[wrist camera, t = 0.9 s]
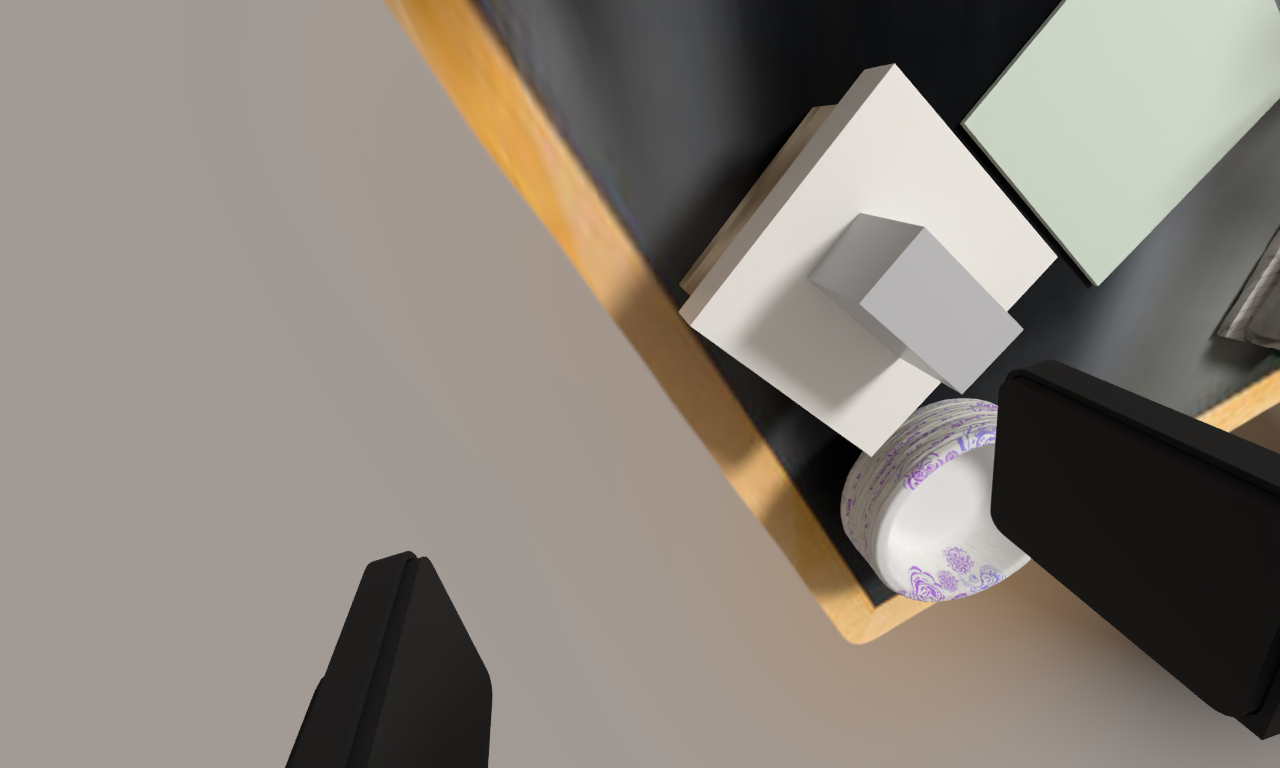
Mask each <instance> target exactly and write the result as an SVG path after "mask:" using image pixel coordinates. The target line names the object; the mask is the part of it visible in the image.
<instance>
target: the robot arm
mask: <svg viewBox="0 0 1280 768" xmlns="http://www.w3.org/2000/svg"><path fill="white" fill-rule="evenodd" d="M990 514H991V518H992V521H993V523H994V525H995V526H996V528H997V529H998V530H999V531H1000V532H1001V533H1002V534H1003V535H1004V536H1005V537H1006V538H1007V539H1009V540H1010V541H1011V542H1012V543H1014V544H1015V545H1016V546H1017V547H1018V548H1020V549H1021V550H1022V551H1023V552H1024V553H1026V554H1027V555H1028V556H1029V557H1030V558H1032V559H1033V560H1034V561H1035V562H1036V563H1038V564H1039V565H1040V566H1041V567H1042V568H1044V569H1045V570H1046V571H1047V572H1048V573H1050V574H1051V575H1052V576H1054V577H1055V578H1056V579H1057V580H1058V581H1059V582H1061V583H1062V584H1063V585H1064V586H1065V587H1067V588H1068V589H1069V590H1070V591H1071V592H1073V593H1074V594H1075V595H1076V596H1077V597H1079V598H1080V599H1081V600H1082V601H1083V602H1085V603H1086V604H1087V605H1088V606H1089V607H1091V608H1092V609H1093V610H1094V611H1095V612H1097V613H1098V614H1099V615H1100V616H1101V617H1103V618H1104V619H1105V620H1106V621H1108V622H1109V623H1110V624H1111V625H1112V626H1114V627H1115V628H1116V629H1117V630H1118V631H1120V632H1121V633H1122V634H1123V635H1124V636H1126V637H1127V638H1128V639H1129V640H1130V641H1132V642H1133V643H1134V644H1135V645H1137V646H1138V647H1139V648H1140V649H1141V650H1142V651H1144V652H1145V653H1146V654H1147V655H1149V656H1150V657H1151V658H1152V659H1153V660H1155V661H1156V662H1157V663H1158V664H1160V665H1161V666H1162V667H1163V668H1164V669H1165V670H1167V671H1168V672H1169V673H1170V674H1171V675H1173V676H1174V677H1175V678H1176V679H1178V680H1179V681H1180V682H1181V683H1182V684H1184V685H1185V686H1186V687H1187V688H1188V689H1190V690H1191V691H1192V692H1193V693H1194V694H1195V695H1197V696H1198V697H1199V698H1200V699H1202V700H1203V701H1204V702H1205V703H1206V704H1208V705H1209V706H1210V707H1212V708H1213V709H1215V710H1216V711H1218V712H1220V713H1222V714H1224V715H1227V716H1231V717H1234V718H1235V719H1237V720H1238V721H1239V722H1241V723H1242V724H1243V725H1244V726H1245V727H1247V728H1248V729H1249V730H1250V731H1251V732H1253V733H1254V734H1255V735H1256V736H1258V737H1259V738H1260V739H1261V740H1264V739H1267V738H1269V737H1272V736H1275V735H1277V734H1280V454H1278V453H1276V452H1274V451H1271V450H1269V449H1267V448H1264V447H1262V446H1259V445H1257V444H1255V443H1252V442H1249V441H1247V440H1245V439H1242V438H1240V437H1237V436H1235V435H1233V434H1230V433H1228V432H1226V431H1223V430H1221V429H1219V428H1216V427H1214V426H1211V425H1209V424H1207V423H1204V422H1202V421H1199V420H1197V419H1195V418H1192V417H1190V416H1187V415H1185V414H1183V413H1180V412H1178V411H1175V410H1173V409H1171V408H1168V407H1166V406H1163V405H1161V404H1159V403H1156V402H1154V401H1151V400H1149V399H1147V398H1144V397H1142V396H1139V395H1137V394H1135V393H1132V392H1130V391H1127V390H1125V389H1123V388H1120V387H1118V386H1115V385H1113V384H1111V383H1108V382H1106V381H1103V380H1101V379H1099V378H1096V377H1094V376H1091V375H1089V374H1087V373H1084V372H1082V371H1079V370H1077V369H1075V368H1072V367H1070V366H1067V365H1065V364H1063V363H1060V362H1058V361H1053V360H1045V361H1041V362H1038V363H1034V364H1031V365H1028V366H1024V367H1021V368H1018V369H1014V370H1013V371H1011V372H1009V374H1008V375H1007V377H1006V379H1005V382H1004V383H1003V384H1002V385H1001V386H1000V389H999V397H998V411H997V425H996V438H995V452H994V466H993V479H992V493H991V507H990ZM491 712H492V685H491V681H490V677H489V674H488V671H487V669H486V667H485V665H484V663H483V661H482V659H481V658H480V656H479V654H478V652H477V650H476V648H475V646H474V644H473V642H472V640H471V638H470V636H469V634H468V632H467V630H466V628H465V626H464V625H463V623H462V621H461V619H460V617H459V615H458V613H457V611H456V609H455V607H454V605H453V603H452V601H451V599H450V597H449V596H448V594H447V592H446V590H445V588H444V586H443V584H442V582H441V580H440V578H439V576H438V574H437V572H436V570H435V568H434V567H433V565H432V563H431V561H430V560H429V559H428V558H427V557H421V558H417V557H416V555H415V554H414V553H413V552H411V551H406V552H403V553H400V554H396V555H393V556H390V557H386V558H383V559H379V560H376V561H373V562H371V563H369V564H368V565H367V567H366V569H365V571H364V574H363V576H362V579H361V582H360V584H359V587H358V590H357V592H356V595H355V597H354V600H353V602H352V605H351V608H350V610H349V613H348V616H347V618H346V621H345V623H344V626H343V629H342V631H341V634H340V637H339V639H338V642H337V645H336V647H335V650H334V652H333V655H332V658H331V660H330V663H329V665H328V668H327V671H326V674H325V676H324V677H323V678H322V679H321V680H320V682H319V684H318V686H317V688H316V690H315V692H314V694H313V697H312V700H311V702H310V705H309V707H308V710H307V712H306V715H305V718H304V720H303V723H302V725H301V728H300V730H299V733H298V736H297V738H296V741H295V743H294V746H293V749H292V751H291V754H290V756H289V759H288V762H287V764H286V767H285V768H488V758H489V742H490V727H491Z"/></svg>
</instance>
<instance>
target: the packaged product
mask: <svg viewBox="0 0 1280 768" xmlns="http://www.w3.org/2000/svg"><path fill="white" fill-rule="evenodd" d="M1217 334H1218V335H1219V336H1222V337H1226V338H1231V339H1235V340H1239V341H1243V342H1248V343H1253V344H1256V345H1260V346H1264V347H1267V348H1274V349H1277V350H1280V230H1279V231H1278V233H1277V234H1276V235H1275V237H1274V238H1273V240H1272V242H1271V243H1270V245H1269V247H1268V248H1267V250H1266V251H1265V253H1264V255H1263V256H1262V258H1261V260H1260V262H1259V264H1258V266H1257V268H1256V269H1255V271H1254V273H1253V274H1252V276H1251V277H1250V279H1249V280H1248V282H1247V284H1246V286H1245V287H1244V289H1243V291H1242V293H1241V295H1240V296H1239V298H1238V300H1237V302H1236V303H1235V305H1234V306H1233V308H1232V309H1231V311H1230V312H1229V313H1228V315H1227V316H1226V318H1225V319H1224V321H1223V323H1222V324H1221V326H1220V328H1219V330H1218V331H1217Z"/></svg>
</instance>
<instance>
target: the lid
mask: <svg viewBox="0 0 1280 768" xmlns="http://www.w3.org/2000/svg"><path fill="white" fill-rule="evenodd" d="M1056 258H1057V256H1056V255H1055V253H1054V252H1053V251H1052V250H1051V249H1050V247H1049V246H1048V245H1047V244H1046V243H1045V241H1044V240H1043V239H1042V238H1041V237H1040V236H1039V234H1038V233H1037V232H1036V231H1035V230H1034V228H1033V227H1032V226H1031V225H1030V224H1029V222H1028V221H1027V220H1026V219H1025V218H1024V216H1023V215H1022V214H1021V213H1020V212H1019V211H1018V209H1017V208H1016V207H1015V206H1014V205H1013V203H1012V202H1011V201H1010V200H1009V199H1008V197H1007V196H1006V195H1005V194H1004V193H1003V192H1002V190H1001V189H1000V188H999V187H998V186H997V184H996V183H995V182H994V181H993V180H992V178H991V177H990V176H989V175H988V174H987V173H986V171H985V170H984V169H983V168H982V167H981V165H980V164H979V163H978V162H977V161H976V159H975V158H974V157H973V156H972V155H971V154H970V152H969V151H968V150H967V149H966V148H965V146H964V145H963V144H962V143H961V142H960V140H959V139H958V138H957V137H956V136H955V135H954V133H953V132H952V131H951V130H950V129H949V127H948V126H947V125H946V124H945V123H944V121H943V120H942V119H941V118H940V117H939V116H938V114H937V113H936V112H935V111H934V110H933V108H932V107H931V106H930V105H929V104H928V102H927V101H926V100H925V99H924V98H923V97H922V95H921V94H920V93H919V92H918V91H917V89H916V88H915V87H914V86H913V85H912V83H911V82H910V81H909V80H908V79H907V78H906V76H905V75H904V74H903V73H902V72H901V70H900V69H899V68H898V67H897V66H896V64H895V63H894V64H890V65H885V66H880V67H875V68H871V69H866V70H864V71H863V72H862V74H861V75H860V76H859V77H858V79H857V80H856V81H855V83H854V84H853V85H852V87H851V88H850V89H849V91H848V92H847V93H846V94H845V96H844V97H843V98H842V100H841V101H840V102H839V104H838V105H837V106H836V107H835V109H834V110H833V111H832V113H831V114H830V115H829V117H828V118H827V119H826V120H825V122H824V123H823V124H822V126H821V127H820V128H819V130H818V131H817V132H816V133H815V135H814V136H813V137H812V139H811V140H810V141H809V143H808V144H807V145H806V146H805V148H804V149H803V150H802V152H801V153H800V154H799V156H798V157H797V158H796V159H795V161H794V162H793V163H792V165H791V166H790V167H789V169H788V170H787V171H786V173H785V174H784V175H783V176H782V178H781V179H780V180H779V182H778V183H777V184H776V186H775V187H774V188H773V189H772V191H771V192H770V193H769V195H768V196H767V197H766V199H765V200H764V201H763V202H762V204H761V205H760V206H759V208H758V209H757V210H756V212H755V213H754V214H753V215H752V217H751V218H750V219H749V221H748V222H747V223H746V225H745V226H744V227H743V228H742V230H741V231H740V232H739V234H738V235H737V236H736V238H735V239H734V240H733V241H732V243H731V244H730V245H729V247H728V248H727V249H726V251H725V252H724V253H723V255H722V256H721V257H720V258H719V260H718V261H717V262H716V264H715V265H714V266H713V268H712V269H711V270H710V271H709V273H708V274H707V275H706V277H705V278H704V279H703V281H702V282H701V283H700V284H699V286H698V287H697V288H696V290H695V291H694V292H693V294H692V295H691V296H690V297H689V299H688V300H687V301H686V303H685V304H684V305H683V307H682V308H681V309H680V310H679V312H678V313H679V314H680V315H681V316H682V317H683V318H684V320H685V321H686V322H687V323H688V324H689V325H690V326H691V327H692V328H694V329H695V330H696V331H698V332H699V333H701V334H702V335H703V336H705V337H706V338H707V339H709V340H710V341H712V342H713V343H714V344H716V345H717V346H719V347H720V348H721V349H723V350H724V351H725V352H727V353H728V354H730V355H731V356H732V357H734V358H735V359H737V360H738V361H739V362H741V363H742V364H743V365H745V366H746V367H748V368H749V369H750V370H752V371H753V372H755V373H756V374H757V375H759V376H760V377H761V378H763V379H764V380H766V381H767V382H768V383H770V384H771V385H773V386H774V387H775V388H777V389H778V390H780V391H781V392H782V393H784V394H785V395H786V396H788V397H789V398H791V399H792V400H793V401H795V402H796V403H798V404H799V405H800V406H802V407H803V408H804V409H806V410H807V411H809V412H810V413H811V414H813V415H814V416H816V417H817V418H818V419H820V420H821V421H822V422H824V423H825V424H827V425H828V426H829V427H831V428H832V429H834V430H835V431H836V432H838V433H839V434H840V435H842V436H843V437H845V438H846V439H847V440H849V441H850V442H852V443H853V444H854V445H856V446H857V447H858V448H860V449H861V450H863V451H864V452H865V453H867V454H868V455H870V456H871V457H872V456H873V455H874V454H875V453H876V452H877V450H878V449H879V448H880V447H881V446H882V445H883V444H884V443H885V442H886V441H887V440H888V439H889V438H890V436H891V435H892V434H893V433H894V432H895V431H896V430H897V429H898V428H899V427H900V426H901V425H902V424H903V423H904V421H905V420H906V419H907V418H908V417H909V416H910V415H911V414H912V413H913V412H914V411H915V410H916V409H917V408H918V406H919V405H920V404H921V403H922V402H923V401H924V400H925V399H926V398H927V397H928V396H929V395H930V394H931V393H932V391H933V390H934V389H935V388H936V387H937V386H938V385H939V384H940V383H941V382H942V383H944V384H945V385H947V386H949V387H951V388H952V389H954V390H956V391H957V392H959V393H961V394H963V393H964V392H965V391H966V390H967V389H968V388H969V386H970V385H971V384H972V383H973V382H974V381H975V380H976V379H977V378H978V377H979V376H980V375H981V374H982V373H983V372H984V371H985V370H986V369H987V367H988V366H989V365H990V364H991V363H992V362H993V361H994V360H995V359H996V358H997V357H998V356H999V355H1000V354H1001V353H1002V352H1003V351H1004V350H1005V349H1006V347H1007V346H1008V345H1009V344H1010V343H1011V342H1012V341H1013V340H1014V339H1015V338H1016V337H1017V336H1018V335H1019V334H1020V333H1021V332H1022V331H1023V330H1024V329H1023V328H1022V327H1021V326H1020V325H1019V324H1018V323H1017V322H1016V321H1015V320H1014V319H1013V318H1012V317H1011V316H1010V315H1009V314H1008V313H1007V311H1008V310H1009V309H1010V308H1011V307H1012V306H1013V305H1014V303H1015V302H1016V301H1017V300H1018V299H1019V298H1020V297H1021V296H1022V295H1023V294H1024V293H1025V292H1026V291H1027V290H1028V288H1029V287H1030V286H1031V285H1032V284H1033V283H1034V282H1035V281H1036V280H1037V279H1038V278H1039V277H1040V276H1041V274H1042V273H1043V272H1044V271H1045V270H1046V269H1047V268H1048V267H1049V266H1050V265H1051V264H1052V263H1053V262H1054V261H1055V259H1056Z"/></svg>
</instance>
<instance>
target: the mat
mask: <svg viewBox="0 0 1280 768" xmlns="http://www.w3.org/2000/svg"><path fill="white" fill-rule="evenodd" d="M1279 98H1280V12H1279V10H1278V8H1277V6H1276V3H1275V1H1274V0H1062V1H1061V2H1060V3H1059V5H1058V6H1057V7H1056V8H1055V9H1054V11H1053V12H1052V13H1051V14H1050V15H1049V17H1048V18H1047V19H1046V20H1045V21H1044V23H1043V24H1042V25H1041V26H1040V28H1039V29H1038V30H1037V31H1036V32H1035V34H1034V35H1033V36H1032V37H1031V38H1030V40H1029V41H1028V42H1027V43H1026V44H1025V46H1024V47H1023V48H1022V49H1021V50H1020V52H1019V53H1018V54H1017V55H1016V56H1015V58H1014V59H1013V60H1012V61H1011V62H1010V64H1009V65H1008V66H1007V67H1006V68H1005V70H1004V71H1003V72H1002V73H1001V74H1000V76H999V77H998V78H997V79H996V80H995V82H994V83H993V84H992V85H991V87H990V88H989V89H988V90H987V91H986V93H985V94H984V95H983V96H982V97H981V99H980V100H979V101H978V102H977V103H976V105H975V106H974V107H973V108H972V109H971V111H970V112H969V113H968V114H967V115H966V117H965V118H964V119H963V120H962V121H961V123H960V124H961V126H962V127H963V128H964V129H965V130H966V132H967V133H968V134H969V135H970V136H971V138H972V139H973V140H974V141H975V142H976V144H977V145H978V146H979V147H980V149H981V150H982V151H983V152H984V153H985V155H986V156H987V157H988V158H989V159H990V161H991V162H992V163H993V164H994V165H995V167H996V168H997V169H998V170H999V171H1000V173H1001V174H1002V175H1003V176H1004V178H1005V179H1006V180H1007V181H1008V182H1009V184H1010V185H1011V186H1012V187H1013V188H1014V190H1015V191H1016V192H1017V193H1018V194H1019V196H1020V197H1021V198H1022V199H1023V200H1024V202H1025V203H1026V204H1027V205H1028V207H1029V208H1030V209H1031V210H1032V211H1033V213H1034V214H1035V215H1036V216H1037V217H1038V219H1039V220H1040V221H1041V222H1042V223H1043V225H1044V226H1045V227H1046V228H1047V230H1048V231H1049V232H1050V233H1051V234H1052V236H1053V237H1054V238H1055V239H1056V240H1057V242H1058V243H1059V244H1060V245H1061V246H1062V248H1063V249H1064V250H1065V251H1066V252H1067V254H1068V255H1069V256H1070V257H1071V259H1072V260H1073V261H1074V262H1075V263H1076V265H1077V266H1078V267H1079V268H1080V269H1081V271H1082V272H1083V273H1084V274H1085V275H1086V277H1087V278H1088V279H1089V280H1090V282H1091V283H1092V284H1093V285H1096V286H1099V285H1100V284H1101V283H1102V282H1103V281H1104V280H1105V279H1106V278H1107V277H1108V276H1109V275H1110V273H1111V272H1112V271H1113V270H1114V269H1115V268H1116V267H1117V266H1118V265H1119V264H1120V263H1121V262H1122V261H1123V260H1124V259H1125V258H1126V257H1127V256H1128V255H1129V254H1130V253H1131V252H1132V251H1133V250H1134V249H1135V248H1136V247H1137V246H1138V244H1139V243H1140V242H1141V241H1142V240H1143V239H1144V238H1145V237H1146V236H1147V235H1148V234H1149V233H1150V232H1151V231H1152V230H1153V229H1154V228H1155V227H1156V226H1157V225H1158V224H1159V223H1160V222H1161V221H1162V220H1163V219H1164V218H1165V217H1166V215H1167V214H1168V213H1169V212H1170V211H1171V210H1172V209H1173V208H1174V207H1175V206H1176V205H1177V204H1178V203H1179V202H1180V201H1181V200H1182V199H1183V198H1184V197H1185V196H1186V195H1187V194H1188V193H1189V192H1190V191H1191V190H1192V189H1193V188H1194V186H1195V185H1196V184H1197V183H1198V182H1199V181H1200V180H1201V179H1202V178H1203V177H1204V176H1205V175H1206V174H1207V173H1208V172H1209V171H1210V170H1211V169H1212V168H1213V167H1214V166H1215V165H1216V164H1217V163H1218V162H1219V161H1220V160H1221V159H1222V157H1223V156H1224V155H1225V154H1226V153H1227V152H1228V151H1229V150H1230V149H1231V148H1232V147H1233V146H1234V145H1235V144H1236V143H1237V142H1238V141H1239V140H1240V139H1241V138H1242V137H1243V136H1244V135H1245V134H1246V133H1247V132H1248V131H1249V130H1250V128H1251V127H1252V126H1253V125H1254V124H1255V123H1256V122H1257V121H1258V120H1259V119H1260V118H1261V117H1262V116H1263V115H1264V114H1265V113H1266V112H1267V111H1268V110H1269V109H1270V108H1271V107H1272V106H1273V105H1274V104H1275V103H1276V102H1277V100H1278V99H1279Z"/></svg>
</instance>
